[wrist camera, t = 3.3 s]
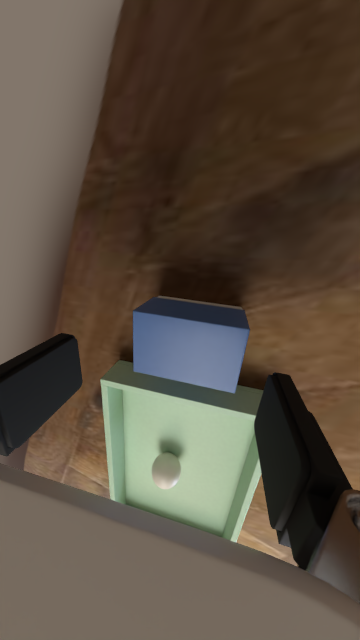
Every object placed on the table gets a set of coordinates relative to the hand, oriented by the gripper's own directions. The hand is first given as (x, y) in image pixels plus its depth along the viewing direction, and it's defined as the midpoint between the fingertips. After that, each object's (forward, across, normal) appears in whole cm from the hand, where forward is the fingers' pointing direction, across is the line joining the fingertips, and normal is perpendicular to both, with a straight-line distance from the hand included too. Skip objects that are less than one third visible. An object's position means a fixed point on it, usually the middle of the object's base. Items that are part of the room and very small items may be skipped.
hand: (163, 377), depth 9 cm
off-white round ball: (+5, 0, +16) cm, 16 cm away
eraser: (+7, -1, 0) cm, 7 cm away
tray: (+7, -1, +17) cm, 18 cm away
